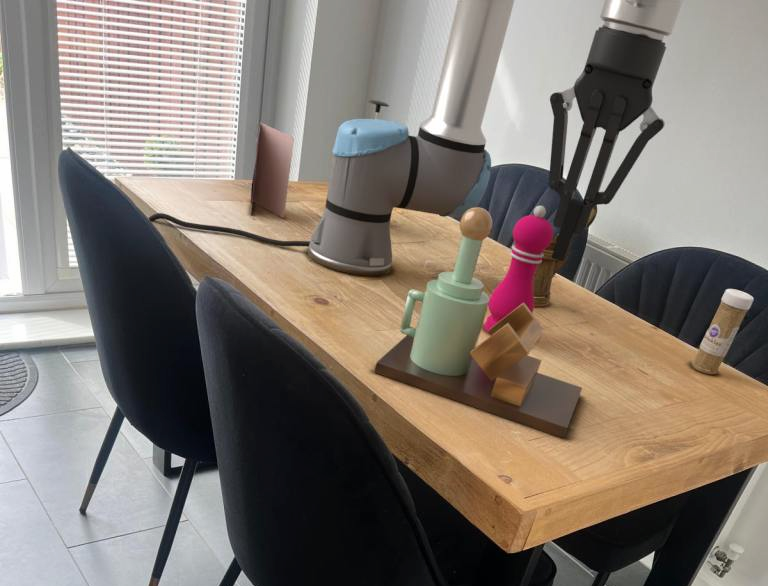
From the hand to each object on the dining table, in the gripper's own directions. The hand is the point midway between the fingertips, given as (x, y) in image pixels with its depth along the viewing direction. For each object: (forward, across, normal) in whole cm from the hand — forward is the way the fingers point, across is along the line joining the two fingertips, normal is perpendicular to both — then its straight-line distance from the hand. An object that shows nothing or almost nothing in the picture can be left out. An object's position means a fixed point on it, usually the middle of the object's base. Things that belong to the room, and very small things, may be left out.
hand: (559, 257), depth 92 cm
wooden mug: (+19, -6, +48) cm, 52 cm away
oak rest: (+18, -2, 0) cm, 18 cm away
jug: (+17, -6, 0) cm, 18 cm away
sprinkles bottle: (+19, +26, +39) cm, 50 cm away
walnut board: (+19, -5, +1) cm, 20 cm away
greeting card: (+19, -64, +50) cm, 83 cm away
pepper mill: (+19, -7, +24) cm, 32 cm away
